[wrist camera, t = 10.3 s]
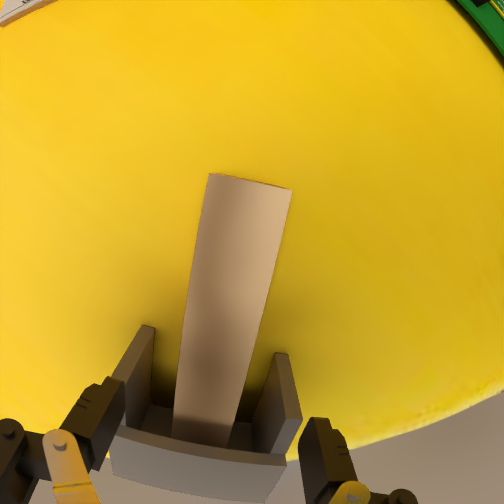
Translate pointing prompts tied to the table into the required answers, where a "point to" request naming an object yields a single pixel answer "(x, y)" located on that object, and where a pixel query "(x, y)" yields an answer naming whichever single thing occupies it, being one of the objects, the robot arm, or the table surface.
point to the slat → (225, 303)
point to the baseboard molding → (19, 9)
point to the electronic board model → (488, 18)
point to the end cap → (195, 455)
